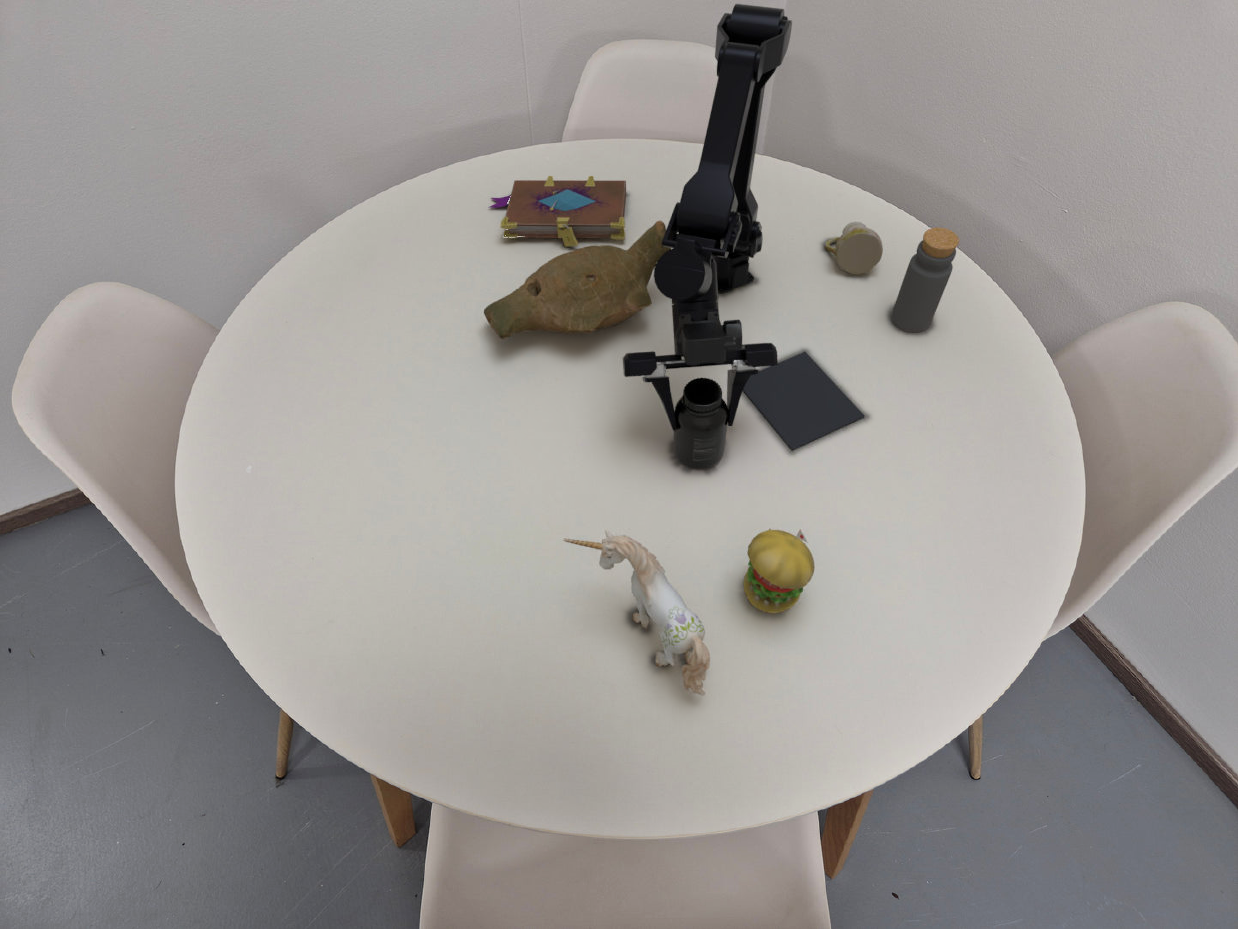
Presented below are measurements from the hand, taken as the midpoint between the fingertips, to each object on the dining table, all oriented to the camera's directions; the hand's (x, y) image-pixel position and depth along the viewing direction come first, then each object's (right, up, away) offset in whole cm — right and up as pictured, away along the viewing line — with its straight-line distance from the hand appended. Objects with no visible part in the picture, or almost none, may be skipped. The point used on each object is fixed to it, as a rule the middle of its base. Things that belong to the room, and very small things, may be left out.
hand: (702, 428), depth 97 cm
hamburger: (+8, -20, -6) cm, 22 cm away
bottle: (+34, +17, +20) cm, 43 cm away
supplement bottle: (0, -3, +6) cm, 7 cm away
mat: (+15, +5, +11) cm, 19 cm away
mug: (+27, +29, +28) cm, 49 cm away
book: (-22, +38, +36) cm, 57 cm away
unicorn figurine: (-8, -25, -9) cm, 28 cm away
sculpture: (-16, +18, +22) cm, 33 cm away
